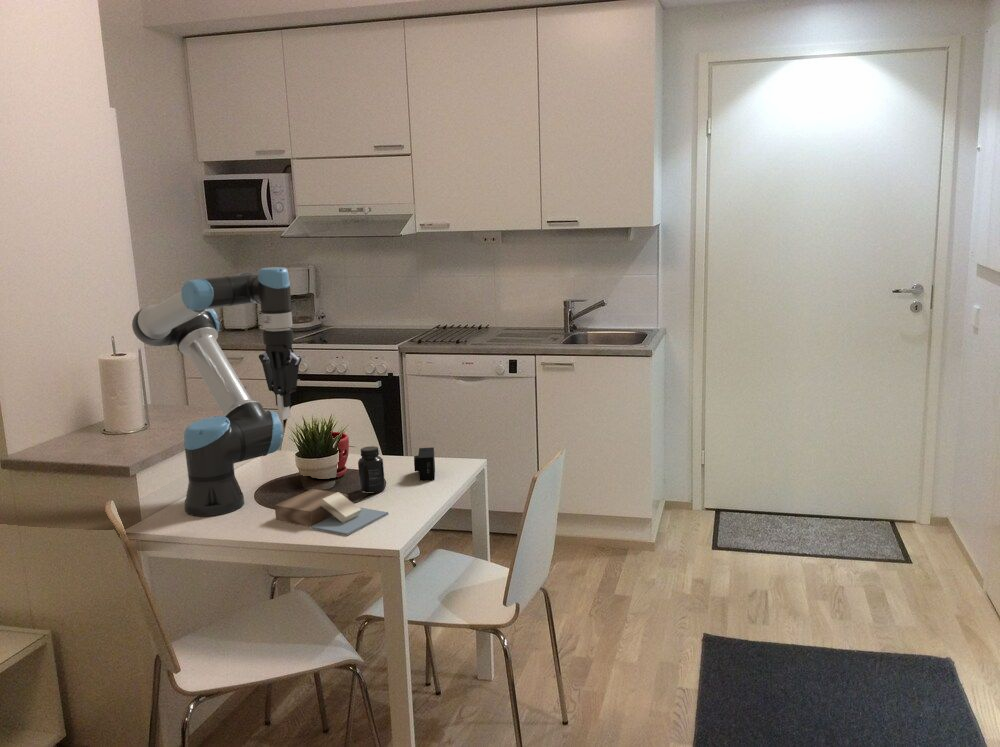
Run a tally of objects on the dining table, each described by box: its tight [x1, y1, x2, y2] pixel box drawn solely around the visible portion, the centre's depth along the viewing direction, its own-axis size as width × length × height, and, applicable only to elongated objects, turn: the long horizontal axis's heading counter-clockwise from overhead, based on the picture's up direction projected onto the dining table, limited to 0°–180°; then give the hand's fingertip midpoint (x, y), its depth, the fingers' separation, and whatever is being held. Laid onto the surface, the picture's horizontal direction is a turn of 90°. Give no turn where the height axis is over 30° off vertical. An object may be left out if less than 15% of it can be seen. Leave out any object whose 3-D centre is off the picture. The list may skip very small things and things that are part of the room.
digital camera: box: [413, 446, 436, 482], centre depth 257 cm, size 10×5×7 cm, turn 3°
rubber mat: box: [310, 506, 389, 537], centre depth 222 cm, size 12×16×1 cm
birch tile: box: [321, 491, 361, 523], centre depth 223 cm, size 8×6×2 cm
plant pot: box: [331, 431, 350, 478], centre depth 261 cm, size 13×13×12 cm
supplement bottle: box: [357, 445, 386, 494], centre depth 245 cm, size 7×7×12 cm
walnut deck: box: [274, 488, 349, 528], centre depth 228 cm, size 12×14×4 cm
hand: (284, 418), depth 232 cm, fingers closed
